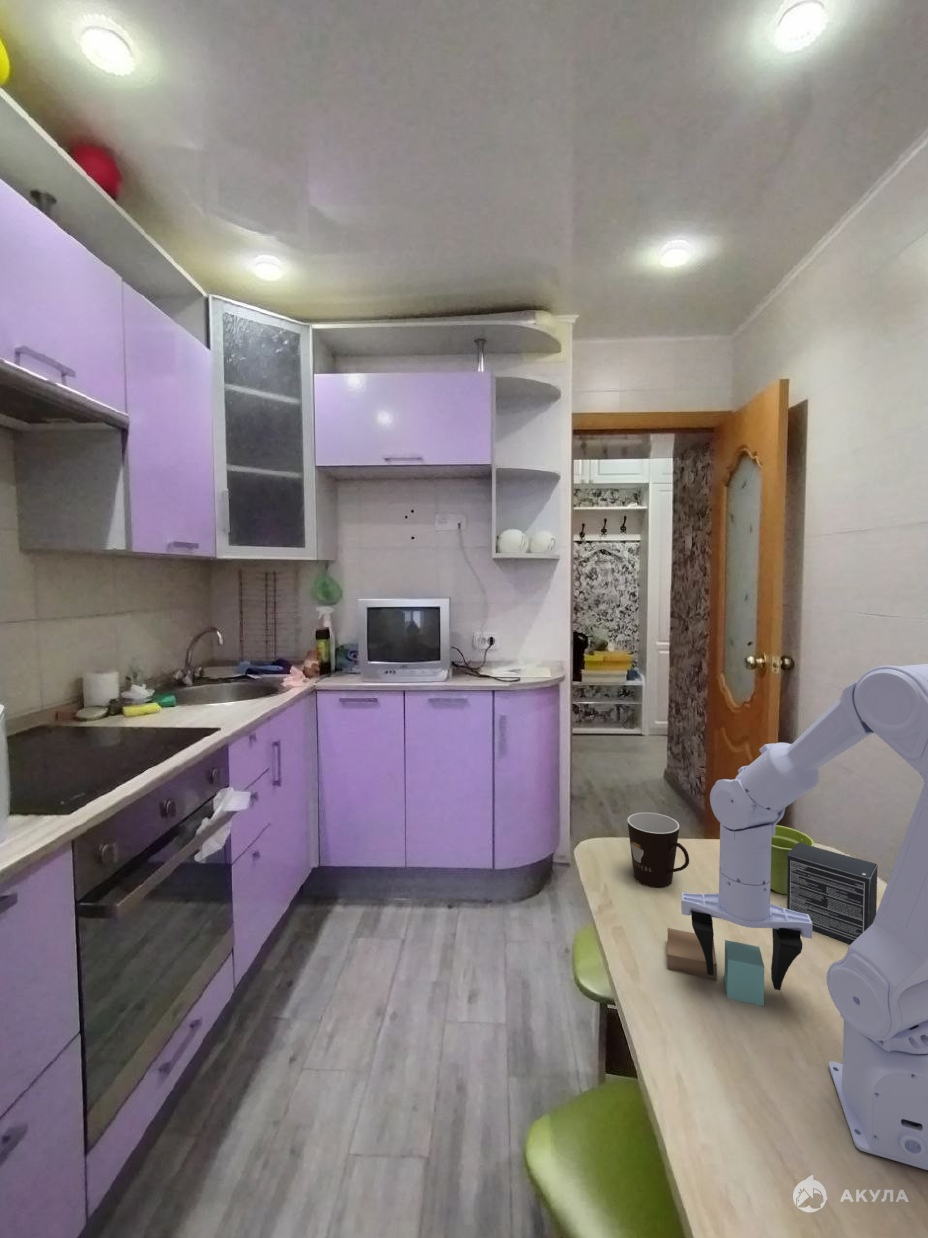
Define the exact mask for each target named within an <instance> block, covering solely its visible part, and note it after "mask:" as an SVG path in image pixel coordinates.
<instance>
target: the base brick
mask: <svg viewBox="0 0 928 1238" xmlns="http://www.w3.org/2000/svg"><path fill="white" fill-rule="evenodd" d="M713 967H714V974H713V976H712V975H708V974H707V966H706V960H705V956H704V953H703V950H702V947H701V945H700V942H699V940H698V938H697V936H696V934H695V932H689V931H685V930H679V929H675V928H669V927H667V969H668V970H672V971H676V972H681V973H687V974H689V975H691V974H692V975H695V976H700V977H704V978H709V979H714V980H717V977H718V976H717V975H718V974H717V973H718V969H717V968H718V964H717V954H716V946H715V940H714V937H713Z"/></svg>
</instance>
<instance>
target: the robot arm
mask: <svg viewBox="0 0 928 1238" xmlns="http://www.w3.org/2000/svg"><path fill="white" fill-rule="evenodd" d="M872 734H875V735H877V736H878V737H879V738H880V739H881V740H882V741H883V742H885V744H886V745H888V746H889V747H890V748H891V749H892V750H893V751H894V752H895V753H897V754H898V756H900V757H901V758H902V759H904V761H905V762H906V763H908V764H909V766H911V767H912V768H913V769H914V770H915V771H917V772H918V774H919V775H920V776H921V778H922V779H923V787H922V789H921V792H920V795H919V798H918V801H917V803H916V806H915V808H914V811H913V814H912V817H911V819H910V822H909V824H908V827H907V829H906V832H905V834H904V838H903V840H902V843H901V846H900V849H899V851H898V854H897V857H896V860H895V862H894V865H893V867H892V870H891V873H890V875H889V878H888V881H887V885H886V886H885V890H884V892H883V894H882V898H881V900H880V904H879V906H878V908H877V911H876V916H875V919H874V921H873V923H872V925H871V926H870V927H869V928H868V929H867V930H865V931H864V932H863V933H862V934H861V935H860V936H859V937H858V938H857V939H856V940H855V941H854V942H853V943H852V944H849V946H848V948H847V951H846V953H845V955H844V956H843V957H842V958H841V959H838V960H836V961H835V962H832V963H831V964H830V966H829V967H828V969H827V972H826V984H827V990H828V992H829V993H828V994H829V995H830V998H831V1000H832V1002H833V1004H834V1005H835V1008H836V1009H837V1011H838V1012H839V1014H840V1017H841V1019H842V1020H843V1027H842V1028H843V1031H842V1032H843V1033H842V1034H843V1035H842V1063H839V1062H836V1061H829V1062H828V1069H829V1072H830V1074H831V1078H832V1080H833V1084H834V1087H835V1089H836V1093H837V1095H838V1099H839V1103H840V1104H841V1107H842V1110H843V1113H844V1117H845V1119H846V1122H847V1125H848V1128H849V1132H850V1135H851V1136H852V1137H851V1138H852V1140H853V1144H854V1146H855V1147H856V1148H857V1149H858V1150H859V1151H861V1152H865V1153H868V1154H871V1155H875V1156H878V1157H882V1158H885V1159H889V1160H892V1161H896V1162H899V1163H902V1164H905V1165H907V1166H908V1165H909V1166H912V1167H915V1168H919V1169H923V1170H926V1171H928V663H923V664H922V663H921V664H909V665H901V666H900V665H899V666H898V665H880V666H876V667H873V668H871V669H869V670H868V671H866V672H864V673H863V674H862V675H861V676H860V678H858V680H857V681H855V682H853V683H851V684H848V685H847V686H845V687H844V688H843V690H842V692H841V695H840V696H839V698H838V699H837V700H836V701H835V702H834V703H833V704H832V705H831V706H830V707H829V708H827V710H826V711H824V712H823V713H822V715H821V716H819V717H818V719H816V720H815V721H814V722H813V723H812V724H811V725H810V726H809V727H808V728H807V729H806V730H804V732H803V733H802V734H801V735H800V736H798V737H797V739H795V740H794V741H793V743H788V742H776V743H773V742H772V743H765V744H763V746H761V747H760V748H759V749H758V750H759V753H761V754H760V755H759V756H758V757H757V758H756V759H755V760H753V761H752V762H751V763H750V764H749V765H744V766H741V767H740V768H739V769H738V770H737V773H738V774H737V775H736V776H735V779H727V778H724V779H723V778H722V779H718V780H716V782H715V783H714V784H713V786H712V788H711V790H710V793H709V801H710V807H711V810H712V812H713V814H714V816H715V818H716V820H717V821H718V822H719V823H720V825H719V862H718V863H719V865H718V866H719V870H718V872H719V873H718V874H719V875H718V876H719V879H718V893H692V892H691V893H690V892H681V895H680V896H681V900H680V901H681V902H680V903H681V904H680V905H681V908H680V909H681V915H685V916H688V917H689V916H691V926H692V929H693V933H695V934H696V936H697V938H698V940H699V942H700V945H701V947H702V950H703V953H704V956H705V960H706V966H707V974H708V975H712V976H713V974H714V967H713V938H714V935H715V933H714V926H713V924H714V922H713V918H715V919H720V920H724V921H727V922H730V923H732V924H736V925H737V926H741V927H745V928H751V929H752V928H753V929H771V930H772V956H771V967H770V974H771V976H770V978H771V982H772V986H773V989H774V990H776V991H781V990H782V985H783V982H784V979H785V977H786V973H787V972H788V971H789V969H790V968H789V967H791V965H792V963H793V962H794V960H795V959H797V957H798V956H799V955H800V954H801V953H802V950H803V941H802V938H805V939H813V930H812V925H813V924H812V921H811V919H810V917H809V915H808V914H804V913H799V912H795V911H792V910H789V909H787V907H782V906H780V905H777V904H773V903H771V889H770V886H771V843H772V837H773V835H775V827H776V825H778V823H779V822H780V821H781V820H782V819H783V817H784V815H785V812H786V808H787V807H788V806H790V805H791V804H793V803H794V802H795V801H796V800H798V799H799V798H801V797H802V796H803V795H805V794H806V793H808V792H809V791H810V790H812V789H814V788H815V787H816V786H817V785H818V783H819V780H820V772H819V769H820V768H821V767H822V766H824V765H826V764H827V763H828V762H830V761H832V760H833V759H835V758H836V757H838V756H840V755H841V754H843V753H844V752H846V751H847V750H849V749H850V748H852V747H853V746H855V745H856V744H858V743H860V742H861V741H863V740H864V739H866V738H868V737H869V736H870V735H872ZM801 937H802V938H801Z"/></svg>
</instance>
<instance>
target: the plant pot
mask: <svg viewBox="0 0 928 1238" xmlns="http://www.w3.org/2000/svg"><path fill="white" fill-rule="evenodd" d="M797 843H802V844H806V845H810V846H813V847H815V842H814V840H813V839H812V837H810V836H809V835H808V834H805V833H804V832H802V831H800V830H797V829H794V828H791V827H787V826H783V825H778V824H776V827H775V835H773V837H772V843H771V886H770V890H772V891H774V892H776V893H778V894H782V895H787V876H788V861H787V854H788V853H789V852H790V851H791V850H792V848H793V847H794V846H795V845H796V844H797Z"/></svg>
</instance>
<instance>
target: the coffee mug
mask: <svg viewBox="0 0 928 1238" xmlns="http://www.w3.org/2000/svg"><path fill="white" fill-rule="evenodd" d="M627 829H628V836H629V846H630V853H631V863H632V872H633V877H634V879H635V881H636V882H638V883H639V884H641V885H643V886H646V887H649V888H653V889H662V888H667V887H669V886H671V885H672V883H673V878H674V877H673V876H674V873H678V872H680V871H684V870H685V869H686V868H687V867H688V866H689V864H690V856H689V853H688V850H687V849H686V848H685V846H683V845H682V843H680V842H679V832H680V824H679V821H677V820H675V819H674V818H672V817H670V816H667V815H665V814H661V813H656V812H645V811H644V812H635V813H632V814H631V815H629V816H628V817H627ZM677 848H679V849H680V851H682V853H683V854H684V855H683V856H684V863H683V864H682V865H681V866H680V867H676V868H675V863H676V858H677V857H676V854H677Z"/></svg>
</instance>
